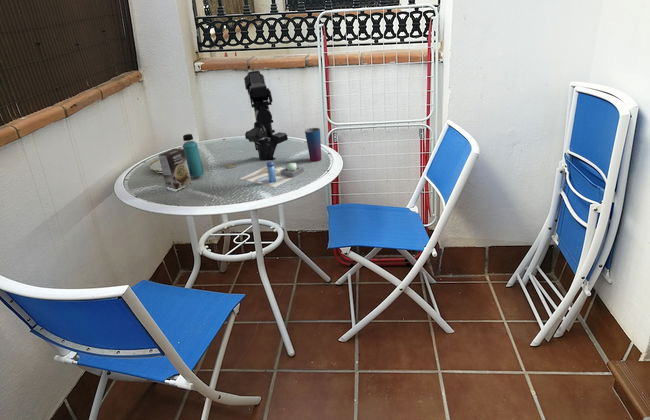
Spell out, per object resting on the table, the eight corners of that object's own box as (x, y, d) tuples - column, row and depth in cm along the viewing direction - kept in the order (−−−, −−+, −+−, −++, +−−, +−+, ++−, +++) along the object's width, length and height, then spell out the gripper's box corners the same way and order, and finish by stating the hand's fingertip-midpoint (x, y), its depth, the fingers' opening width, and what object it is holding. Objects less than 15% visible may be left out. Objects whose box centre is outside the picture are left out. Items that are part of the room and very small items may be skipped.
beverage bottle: (207, 175, 219) (198, 132, 210) (199, 180, 213) (189, 137, 205) (195, 174, 221) (185, 132, 213) (187, 180, 215) (176, 137, 207)
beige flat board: (237, 181, 208) (236, 179, 208) (269, 166, 222) (269, 163, 221) (275, 190, 194) (275, 188, 194) (307, 173, 208) (307, 171, 207)
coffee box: (177, 192, 203) (167, 156, 197) (166, 190, 207) (157, 154, 200) (192, 184, 210) (184, 149, 203) (182, 182, 214) (174, 147, 207)
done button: (285, 171, 207) (284, 165, 205) (292, 168, 209) (291, 162, 208) (292, 173, 204) (291, 166, 203) (298, 170, 207) (298, 163, 206)
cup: (321, 164, 217) (318, 131, 210) (307, 164, 218) (303, 132, 212) (324, 159, 223) (321, 127, 216) (310, 159, 224) (306, 128, 218)
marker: (267, 182, 201) (264, 163, 197) (272, 179, 203) (269, 161, 199) (273, 183, 199) (270, 164, 195) (278, 180, 201) (275, 162, 197)
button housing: (281, 175, 207) (280, 170, 206) (292, 169, 212) (291, 165, 211) (293, 177, 203) (292, 173, 202) (304, 171, 207) (303, 167, 207)
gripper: (231, 122, 190) (238, 159, 196) (265, 126, 178) (271, 166, 185) (252, 114, 197) (258, 151, 204) (286, 118, 186) (291, 157, 193)
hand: (269, 156), depth 196 cm, fingers open, 3 cm apart
